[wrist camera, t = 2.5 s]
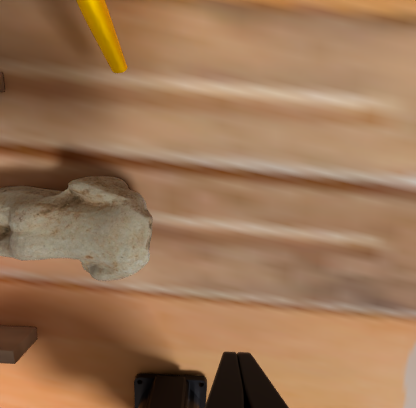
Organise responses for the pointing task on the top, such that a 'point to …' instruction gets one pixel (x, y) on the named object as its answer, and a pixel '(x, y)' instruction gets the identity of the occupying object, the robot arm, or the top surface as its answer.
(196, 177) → the top surface
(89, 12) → the figure statuette
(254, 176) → the top surface
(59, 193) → the sculpture
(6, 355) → the holder
